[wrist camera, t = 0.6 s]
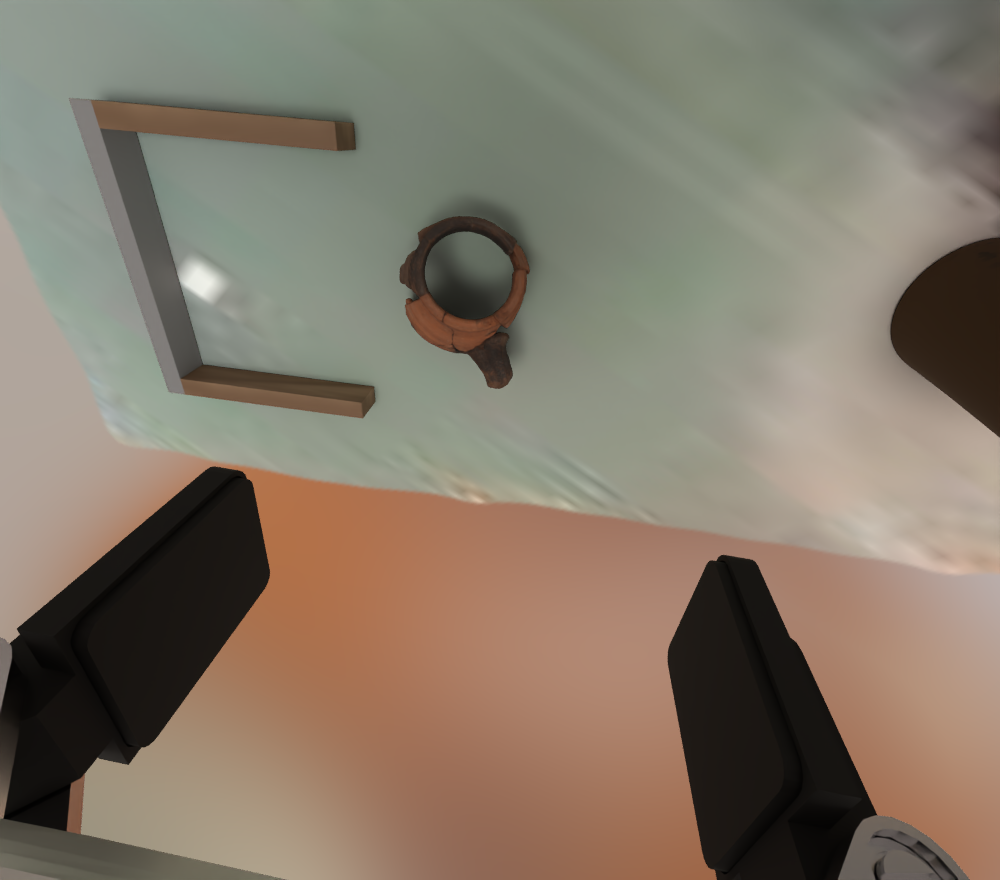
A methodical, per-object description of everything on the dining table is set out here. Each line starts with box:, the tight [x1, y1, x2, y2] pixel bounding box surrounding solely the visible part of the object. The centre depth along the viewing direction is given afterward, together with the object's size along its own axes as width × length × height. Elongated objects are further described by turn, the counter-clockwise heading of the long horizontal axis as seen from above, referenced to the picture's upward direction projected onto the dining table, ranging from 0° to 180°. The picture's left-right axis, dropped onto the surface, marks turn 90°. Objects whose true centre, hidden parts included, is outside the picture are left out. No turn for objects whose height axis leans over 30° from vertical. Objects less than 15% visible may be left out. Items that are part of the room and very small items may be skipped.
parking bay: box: [69, 98, 375, 418], centre depth 37 cm, size 21×18×3 cm
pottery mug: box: [400, 216, 530, 389], centre depth 35 cm, size 12×10×8 cm
